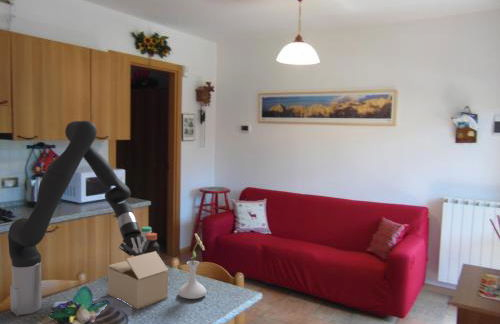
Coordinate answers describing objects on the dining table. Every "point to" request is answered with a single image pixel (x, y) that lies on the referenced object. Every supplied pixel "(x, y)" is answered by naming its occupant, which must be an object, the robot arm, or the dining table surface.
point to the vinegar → (152, 243)
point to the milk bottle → (145, 231)
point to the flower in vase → (193, 279)
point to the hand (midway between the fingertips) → (141, 262)
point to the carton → (137, 288)
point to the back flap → (121, 267)
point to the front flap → (146, 265)
